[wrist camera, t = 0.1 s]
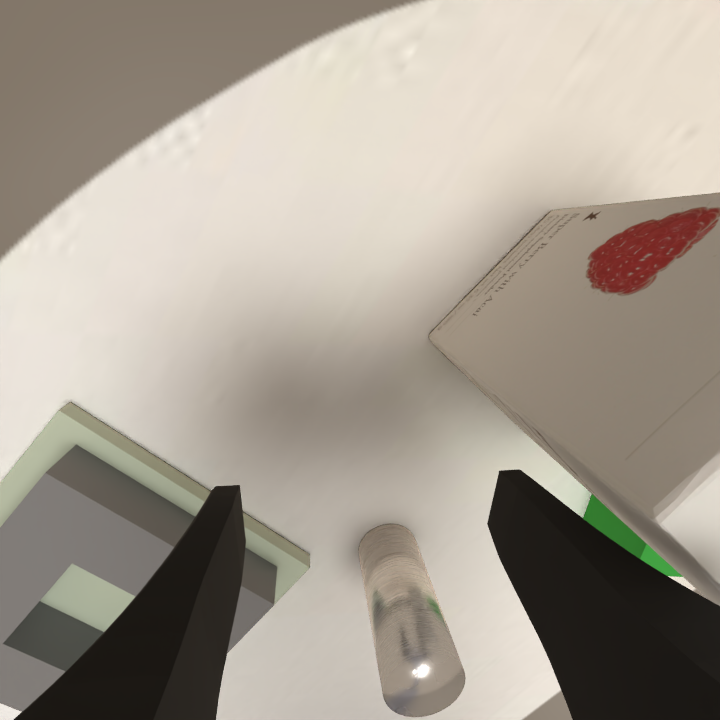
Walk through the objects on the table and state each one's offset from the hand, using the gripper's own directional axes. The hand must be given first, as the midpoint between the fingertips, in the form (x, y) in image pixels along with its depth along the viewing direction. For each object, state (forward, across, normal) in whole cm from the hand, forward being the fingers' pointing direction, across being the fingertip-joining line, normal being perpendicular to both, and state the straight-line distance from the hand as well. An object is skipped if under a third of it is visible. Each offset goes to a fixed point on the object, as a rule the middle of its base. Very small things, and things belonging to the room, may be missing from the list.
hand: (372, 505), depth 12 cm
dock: (+8, +12, +12) cm, 19 cm away
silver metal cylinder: (+9, -3, +12) cm, 15 cm away
